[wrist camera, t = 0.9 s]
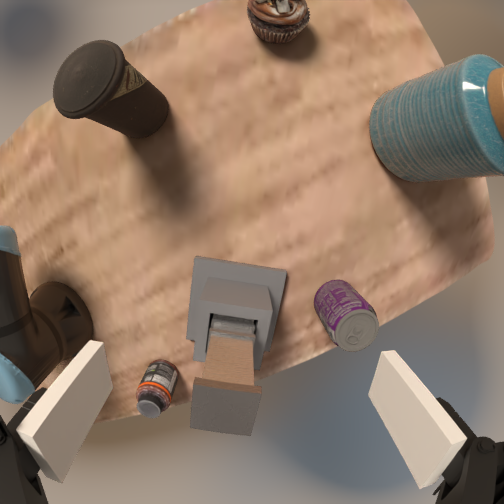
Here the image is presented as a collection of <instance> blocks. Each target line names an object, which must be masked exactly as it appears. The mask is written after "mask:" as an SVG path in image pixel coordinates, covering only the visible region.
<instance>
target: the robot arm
mask: <svg viewBox="0 0 504 504" xmlns="http://www.w3.org/2000/svg"><path fill="white" fill-rule="evenodd" d="M92 335H93V326H92V320H91V317H90V314H89V312H88V309H87V307H86V306H85V304H84V302H83V301H82V300H81V298H80V297H79V296H78V295H77V294H76V293H75V292H74V291H73V290H72V289H71V288H69V287H68V286H66V285H64V284H62V283H59V282H47V283H45V284H43V285H41V286H39V287H38V288H36V289H35V290H34V291H33V293H32V294H31V296H30V299H29V298H28V293H27V289H26V284H25V279H24V274H23V269H22V263H21V253H20V252H19V247H18V242H17V236H16V233H15V231H14V229H13V228H11V227H10V226H0V398H1V399H2V400H4V401H6V402H9V403H12V404H19V403H22V402H23V401H24V400H25V399H26V398H27V397H29V396H30V395H31V394H32V395H31V396H30V398H29V399H28V401H27V402H25V404H24V405H23V407H21V408H20V410H19V411H18V412H17V413H16V414H15V416H14V417H13V418H12V419H11V421H10V422H9V423H8V424H7V426H6V424H5V422H4V421H3V419H2V417H1V415H0V504H48V501H47V498H46V495H45V492H44V489H43V486H42V483H41V480H40V478H39V476H38V474H37V473H38V471H39V470H40V469H41V470H42V471H43V473H44V474H45V476H46V477H48V478H50V479H52V480H55V481H57V482H60V483H63V481H64V479H65V477H66V475H67V473H68V471H69V469H70V467H71V465H72V463H73V461H74V459H75V457H76V455H77V453H78V451H79V449H80V447H81V446H82V444H83V442H84V440H85V438H86V436H87V434H88V432H89V431H90V429H91V427H92V425H93V423H94V421H95V419H96V418H97V416H98V414H99V412H100V410H101V409H102V407H103V405H104V403H105V401H106V400H107V398H108V396H109V394H110V393H111V391H112V389H113V384H112V380H111V376H110V372H109V367H108V363H107V358H106V353H105V348H104V342H98V341H92V340H91V339H92ZM74 356H76V357H75V358H74V359H73V360H72V361H71V362H70V363H69V365H68V366H67V367H66V368H65V369H64V370H63V372H62V373H61V374H60V375H59V376H58V378H57V379H56V380H55V381H54V382H53V384H52V385H51V386H50V387H49V388H48V389H46V388H43V387H42V388H41V389H39V390H37V391H36V392H35V390H36V389H37V388H38V386H39V385H40V384H41V383H42V382H43V381H44V379H45V378H46V377H47V376H48V375H49V374H50V373H51V372H52V370H53V369H54V368H55V367H56V366H57V365H58V364H59V363H60V362H61V361H64V360H66V359H69V358H71V357H74ZM368 396H369V397H370V399H371V401H372V403H373V405H374V406H375V408H376V410H377V412H378V413H379V415H380V417H381V419H382V420H383V422H384V424H385V426H386V428H387V429H388V431H389V433H390V435H391V437H392V438H393V440H394V442H395V444H396V446H397V448H398V449H399V451H400V453H401V455H402V457H403V458H404V460H405V462H406V464H407V466H408V468H409V470H410V471H411V473H412V475H413V477H414V479H415V481H416V483H417V485H418V487H419V489H421V488H424V487H426V486H429V485H431V484H434V483H435V482H436V481H437V480H438V478H439V477H440V476H441V475H442V476H443V477H444V481H443V482H442V483H441V484H440V486H439V487H438V488H437V489H436V490H435V492H434V493H433V495H435V494H436V493H437V492H438V491H439V490H440V491H439V494H438V498H437V500H436V504H504V442H498V443H495V442H494V441H493V440H492V439H490V438H487V437H477V436H476V435H475V434H474V433H473V431H472V430H471V429H470V428H469V427H468V425H467V424H466V423H465V422H464V421H463V419H462V418H461V417H459V415H458V413H457V412H455V410H454V409H453V407H451V405H450V404H449V403H448V402H446V401H445V400H443V399H441V398H436V399H435V397H434V396H433V395H432V394H431V393H430V392H429V390H428V389H427V388H426V387H425V385H424V384H423V383H422V382H421V381H420V380H419V378H418V377H417V376H416V375H415V374H414V373H413V371H412V370H411V369H410V368H409V367H408V366H407V364H406V363H405V362H404V361H403V360H402V359H401V357H400V356H399V355H398V354H397V353H396V352H395V350H393V351H383V352H381V355H380V359H379V362H378V365H377V369H376V372H375V375H374V379H373V382H372V385H371V388H370V391H369V394H368Z"/></svg>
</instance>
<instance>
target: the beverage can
mask: <svg viewBox="0 0 504 504" xmlns="http://www.w3.org/2000/svg"><path fill="white" fill-rule="evenodd" d="M314 307H315V310H316V312H317V314H318V316H319V318H320V320H321V321H322V323H323V325H324V327H325V329H326V331H327V333H328V334H329V336H330V338H331V340H332V341H333V342H334V343H335V344H336V345H338V346H339V347H340V348H342V349H343V350H345V351H349V352H355V351H360V350H362V349H364V348H366V347H367V346H369V345H370V344H371V343H372V342H373V341H374V339H375V338H376V336H377V333H378V330H379V322H378V319H377V316H376V313H375V311H374V309H373V308H372V306H371V305H370V304H369V303H368V302H367V301H366V300H365V299H364V298H363V297H362V296H361V295H360V294H359V293H358V292H357V291H356V290H355V289H354V288H353V287H352V286H351V285H350V284H349V283H347V282H345V281H343V280H332V281H329V282H327V283H325V284H324V285H322V286H321V287H320V288H319V290H318V291H317V293H316V295H315V298H314Z"/></svg>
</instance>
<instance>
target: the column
mask: <svg viewBox="0 0 504 504" xmlns="http://www.w3.org/2000/svg"><path fill="white" fill-rule="evenodd" d="M253 324H254V319H247V318H240V317H233V316H227V315H220V314H214V315H213V318H212V322H211V328H210V329H209V337H208V345H207V353H206V360H205V365H204V369H203V373H202V378H197V377H195V379H194V383H193V394H192V407H191V422H190V428H195V429H201V430H207V431H213V432H220V433H228V434H236V435H247V436H251V432H252V428H253V425H254V421H255V417H256V414H257V410H258V406H259V402H260V398H261V394H262V392H261V386H254V368H253V348H254V343H255V338H256V337H255V334H254V330H255V325H253Z"/></svg>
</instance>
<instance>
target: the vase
mask: <svg viewBox="0 0 504 504" xmlns="http://www.w3.org/2000/svg"><path fill="white" fill-rule="evenodd" d="M369 129H370V137H371V141H372V144H373V147H374V149H375V151H376V153H377V155H378V157H379V158H380V160H381V161H382V163H383V164H384V165H385V166H386V167H387V168H388V169H389V170H390V171H391V172H392V173H393V174H395V175H396V176H398V177H399V178H401V179H403V180H406V181H410V182H431V181H444V180H451V179H461V178H477V177H491V176H492V177H493V176H504V66H503V65H502V64H500V63H499V62H498V61H496V60H495V59H493V58H491V57H489V56H486V55H482V54H477V55H471V56H469V57H467V58H464V59H462V60H460V61H457V62H454V63H452V64H449V65H447V66H444V67H441V68H439V69H437V70H435V71H432V72H430V73H427V74H425V75H423V76H420V77H418V78H414V79H412V80H409V81H407V82H405V83H403V84H401V85H399V86H397V87H395V88H393V89H391V90H388V91H386V92H385V93H383V94H382V95H381V96H380V97H379V98H378V99H377V100H376V102H375V103H374V105H373V108H372V110H371V114H370V121H369Z"/></svg>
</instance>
